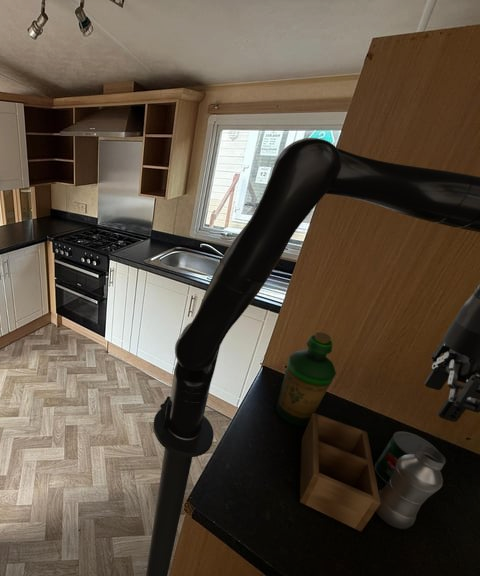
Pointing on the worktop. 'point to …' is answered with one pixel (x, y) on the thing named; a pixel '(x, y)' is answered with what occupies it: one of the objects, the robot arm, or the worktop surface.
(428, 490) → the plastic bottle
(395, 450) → the canned tomato
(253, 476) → the worktop surface
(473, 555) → the worktop surface
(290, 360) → the bottle
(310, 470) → the bottle rack
